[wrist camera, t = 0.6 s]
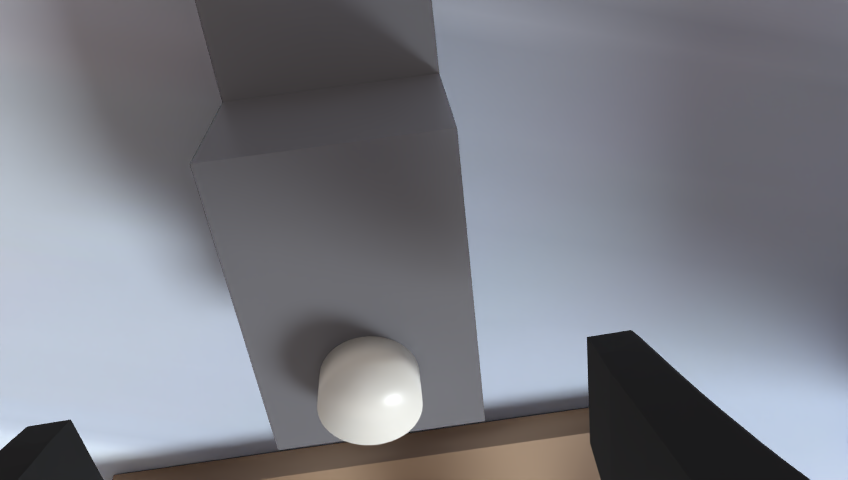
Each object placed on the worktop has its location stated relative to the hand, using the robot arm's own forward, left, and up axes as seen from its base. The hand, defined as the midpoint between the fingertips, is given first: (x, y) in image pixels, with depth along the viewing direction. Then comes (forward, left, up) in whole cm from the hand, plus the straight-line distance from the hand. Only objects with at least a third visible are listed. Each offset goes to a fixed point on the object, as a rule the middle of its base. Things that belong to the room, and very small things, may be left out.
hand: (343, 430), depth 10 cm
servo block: (0, 0, -8) cm, 9 cm away
